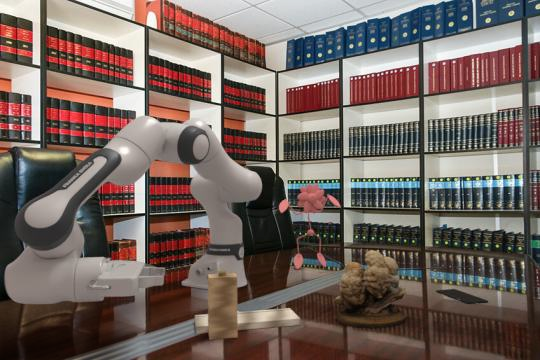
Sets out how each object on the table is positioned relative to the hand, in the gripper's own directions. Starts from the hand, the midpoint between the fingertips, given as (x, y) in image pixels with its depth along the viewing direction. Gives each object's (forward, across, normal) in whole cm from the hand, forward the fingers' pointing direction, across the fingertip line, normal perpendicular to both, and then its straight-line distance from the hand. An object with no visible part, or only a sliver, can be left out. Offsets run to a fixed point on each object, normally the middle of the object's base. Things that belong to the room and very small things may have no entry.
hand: (164, 275), depth 87 cm
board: (+19, +8, +13) cm, 24 cm away
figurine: (+56, +68, +12) cm, 89 cm away
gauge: (+12, +4, +14) cm, 19 cm away
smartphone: (+84, +16, +13) cm, 87 cm away
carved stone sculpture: (+49, +3, +14) cm, 51 cm away
